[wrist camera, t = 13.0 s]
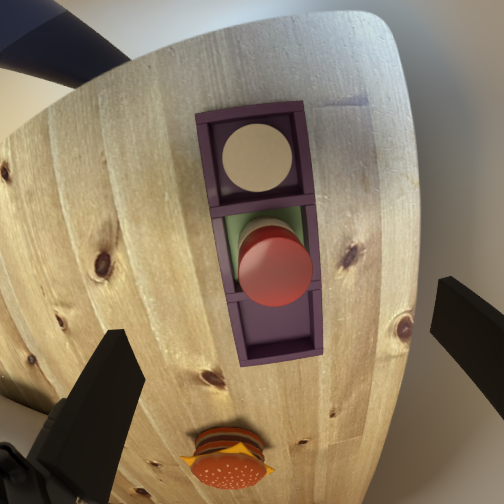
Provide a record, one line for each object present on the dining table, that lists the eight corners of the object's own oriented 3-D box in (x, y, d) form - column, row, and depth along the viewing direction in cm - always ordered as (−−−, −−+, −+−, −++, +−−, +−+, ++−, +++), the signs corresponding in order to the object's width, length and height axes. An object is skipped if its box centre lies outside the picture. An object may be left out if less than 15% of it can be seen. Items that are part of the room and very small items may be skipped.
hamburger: (179, 436, 32) (173, 475, 26) (241, 416, 31) (242, 460, 25) (220, 466, 35) (219, 501, 28) (277, 449, 34) (282, 487, 27)
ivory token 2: (233, 219, 23) (232, 228, 20) (292, 211, 23) (300, 219, 20) (242, 274, 24) (242, 290, 21) (297, 266, 24) (305, 281, 21)
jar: (-39, 358, 23) (89, 452, 22) (15, 369, 36) (129, 432, 35) (-45, 457, 15) (78, 553, 14) (4, 450, 28) (112, 517, 28)
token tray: (199, 118, 21) (194, 113, 18) (296, 106, 21) (303, 100, 18) (240, 350, 27) (240, 367, 25) (317, 338, 27) (323, 354, 25)
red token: (233, 230, 20) (232, 242, 17) (300, 220, 20) (310, 231, 17) (243, 291, 21) (244, 311, 18) (305, 282, 21) (315, 301, 18)
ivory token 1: (220, 132, 21) (217, 129, 18) (281, 124, 21) (287, 120, 18) (229, 191, 22) (228, 196, 19) (288, 183, 22) (296, 187, 19)
